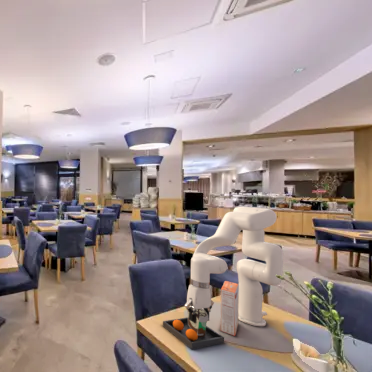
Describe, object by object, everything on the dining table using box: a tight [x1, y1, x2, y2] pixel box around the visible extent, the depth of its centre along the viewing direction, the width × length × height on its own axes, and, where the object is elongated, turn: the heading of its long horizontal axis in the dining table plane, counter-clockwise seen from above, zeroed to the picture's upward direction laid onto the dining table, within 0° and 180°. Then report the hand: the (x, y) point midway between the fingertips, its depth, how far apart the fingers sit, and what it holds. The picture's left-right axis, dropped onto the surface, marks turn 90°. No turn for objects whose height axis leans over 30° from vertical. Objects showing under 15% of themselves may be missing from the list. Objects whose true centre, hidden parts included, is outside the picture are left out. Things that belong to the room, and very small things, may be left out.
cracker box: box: [220, 280, 239, 337], centre depth 115 cm, size 14×6×21 cm, turn 134°
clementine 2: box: [186, 329, 198, 341], centre depth 104 cm, size 5×5×5 cm
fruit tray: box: [162, 316, 225, 350], centre depth 109 cm, size 18×17×3 cm
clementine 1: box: [173, 319, 184, 331], centre depth 112 cm, size 5×5×5 cm
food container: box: [187, 306, 210, 337], centre depth 110 cm, size 12×6×10 cm, turn 171°
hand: (199, 319), depth 110 cm, fingers closed on food container, 7 cm apart
